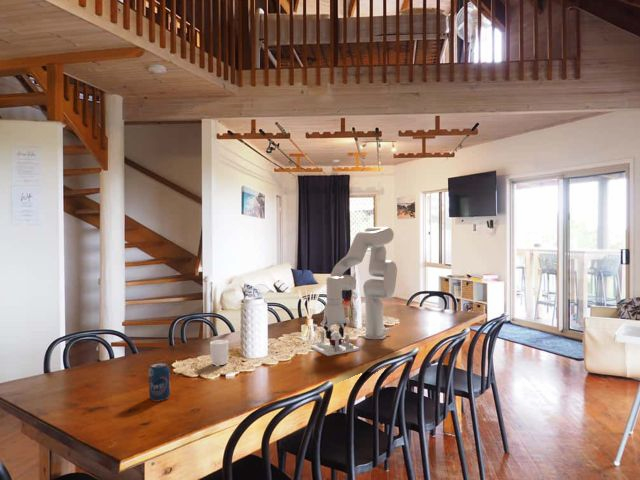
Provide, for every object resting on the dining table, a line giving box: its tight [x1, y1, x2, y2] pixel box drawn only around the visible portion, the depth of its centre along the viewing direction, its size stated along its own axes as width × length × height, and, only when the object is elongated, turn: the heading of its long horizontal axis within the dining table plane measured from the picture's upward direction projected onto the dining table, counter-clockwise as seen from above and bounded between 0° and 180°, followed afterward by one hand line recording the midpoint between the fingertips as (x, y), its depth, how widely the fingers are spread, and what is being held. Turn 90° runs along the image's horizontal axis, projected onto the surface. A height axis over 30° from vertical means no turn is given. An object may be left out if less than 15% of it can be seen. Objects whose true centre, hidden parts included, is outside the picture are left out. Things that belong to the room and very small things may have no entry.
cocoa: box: [328, 329, 345, 346], centre depth 217 cm, size 10×6×12 cm, turn 42°
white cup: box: [209, 339, 229, 365], centre depth 195 cm, size 8×8×10 cm
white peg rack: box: [310, 328, 360, 357], centre depth 217 cm, size 18×16×8 cm
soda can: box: [148, 361, 171, 402], centre depth 157 cm, size 7×7×12 cm
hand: (335, 337), depth 217 cm, fingers open, 6 cm apart
